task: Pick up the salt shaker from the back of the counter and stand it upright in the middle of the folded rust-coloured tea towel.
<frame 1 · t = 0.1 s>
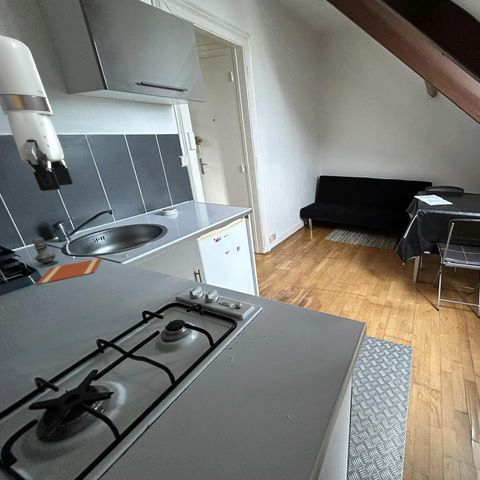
hand: (58, 187, 62), 33 cm above the worktop, tool pointing down, fingers open, 9 cm apart
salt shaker: (49, 264, 101), on the worktop
towel: (72, 270, 95), on the worktop
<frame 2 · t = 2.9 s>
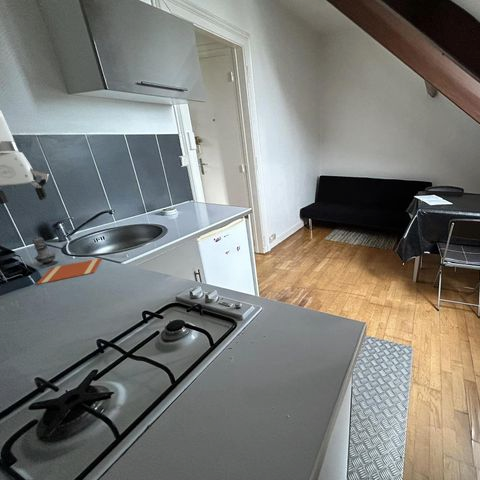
hand: (24, 201, 89), 25 cm above the worktop, tool pointing down, fingers open, 9 cm apart
nothing on the worktop moved.
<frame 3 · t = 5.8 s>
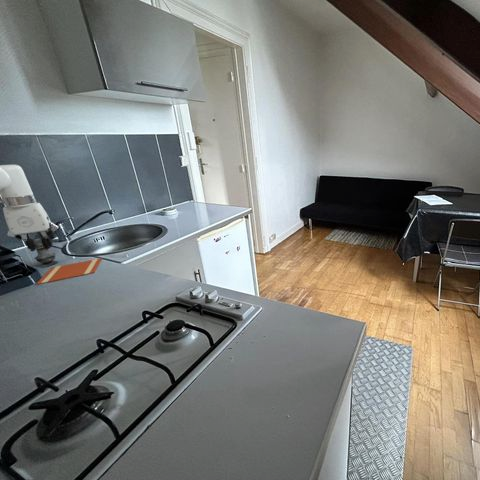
hand: (41, 248, 98), 7 cm above the worktop, tool pointing down, fingers closed on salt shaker, 3 cm apart
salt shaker: (49, 264, 101), on the worktop, touching gripper
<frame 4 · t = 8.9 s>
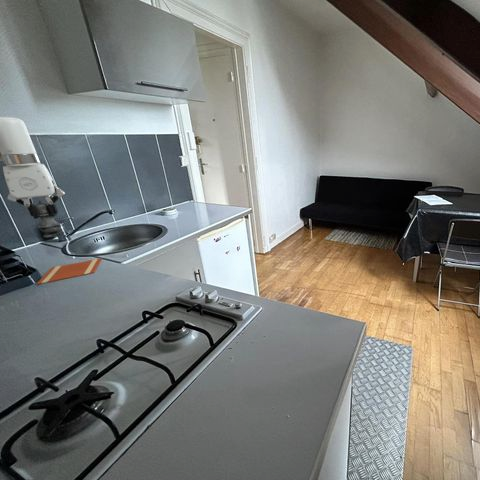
hand: (45, 216, 88), 20 cm above the worktop, tool pointing down, fingers closed on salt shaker, 3 cm apart
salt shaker: (53, 235, 91), point 13 cm above the worktop, touching gripper
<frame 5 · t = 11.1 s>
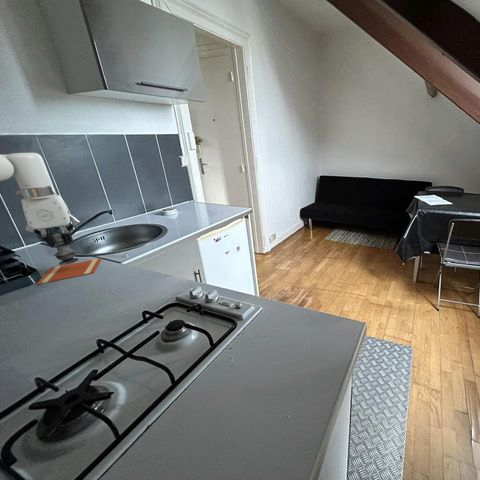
hand: (61, 244, 91), 10 cm above the worktop, tool pointing down, fingers closed on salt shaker, 3 cm apart
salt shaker: (69, 262, 93), point 3 cm above the worktop, touching gripper
when the fingers open (7 cm above the worktop, at t = 12.3 s): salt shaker stays where it is, resting on towel.
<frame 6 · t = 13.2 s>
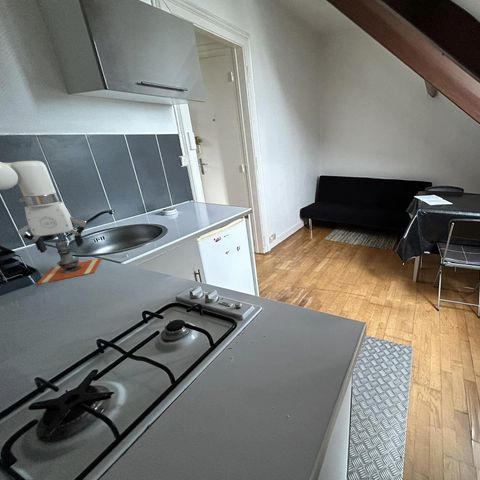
hand: (62, 248, 91), 9 cm above the worktop, tool pointing down, fingers open, 9 cm apart
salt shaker: (72, 270, 95), resting on towel
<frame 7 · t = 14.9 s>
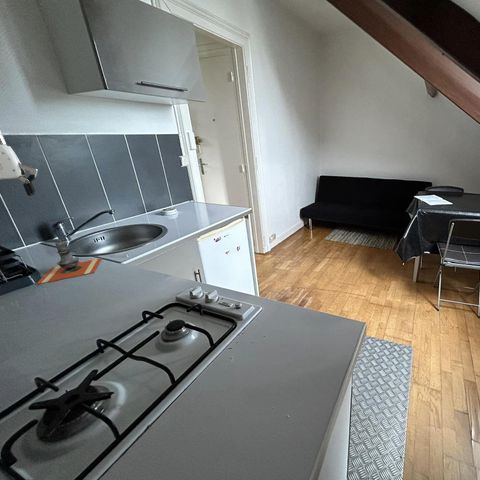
hand: (11, 196, 86), 27 cm above the worktop, tool pointing down, fingers open, 9 cm apart
nothing on the worktop moved.
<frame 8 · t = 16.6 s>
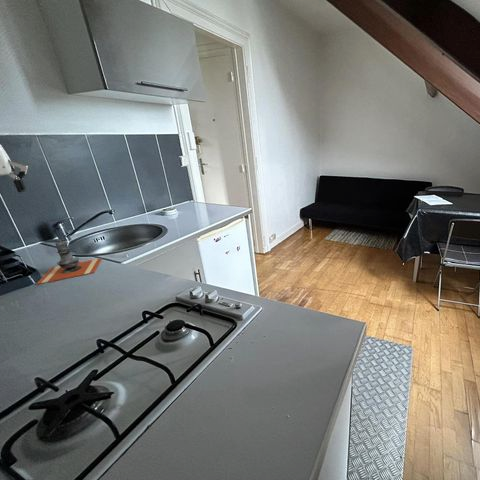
hand: (1, 193, 87), 28 cm above the worktop, tool pointing down, fingers open, 9 cm apart
nothing on the worktop moved.
at the end: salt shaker inside the target area on the towel (0.1 cm from its centre), point 0.2 cm above the towel's base; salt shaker tilted 0°; the gripper is holding nothing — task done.
